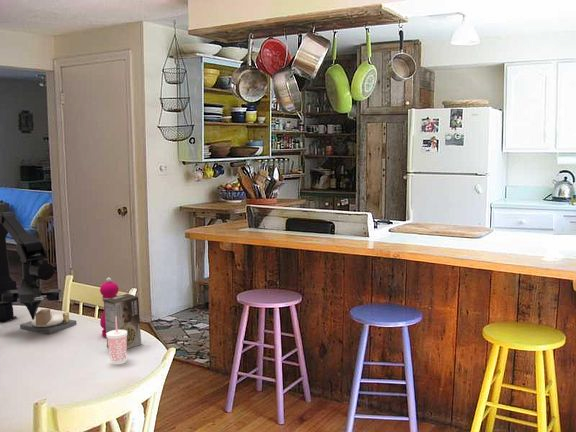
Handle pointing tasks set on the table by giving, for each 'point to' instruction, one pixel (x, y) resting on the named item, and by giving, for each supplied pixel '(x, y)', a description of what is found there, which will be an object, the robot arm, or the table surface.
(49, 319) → the flange
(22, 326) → the base plate
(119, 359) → the beverage cup
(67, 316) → the gold rounded piece
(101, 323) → the pepper mill
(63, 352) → the table surface
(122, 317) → the coffee box
